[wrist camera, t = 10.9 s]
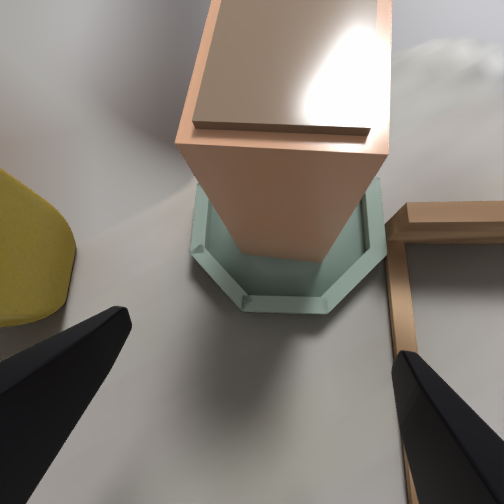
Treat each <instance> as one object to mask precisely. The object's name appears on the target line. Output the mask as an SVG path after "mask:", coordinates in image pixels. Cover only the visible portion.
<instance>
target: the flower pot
mask: <svg viewBox="0 0 504 504" xmlns="http://www.w3.org/2000/svg"><path fill="white" fill-rule="evenodd" d="M75 250H76V243H75V240H74V236H73V233H72V231H71V228H70V227H69V225H68V223H67V222H66V220H65V219H64V217H63V216H62V215H61V214H60V213H59V212H58V211H57V210H56V209H55V208H54V207H53V206H52V205H51V204H50V203H48V202H47V201H46V200H45V199H43V198H42V197H40V196H39V195H38V194H36V193H35V192H33V191H32V190H31V189H29V188H28V187H27V186H25V185H24V184H22V183H21V182H20V181H18V180H17V179H15V178H14V177H12V176H11V175H10V174H8V173H7V172H5V171H4V170H3V169H1V168H0V328H1V327H10V326H18V325H24V324H28V323H32V322H35V321H38V320H41V319H43V318H46V317H48V316H49V315H51V314H53V313H54V312H56V311H57V310H58V309H59V308H60V307H61V306H63V305H64V303H65V301H66V297H67V292H68V287H69V282H70V276H71V271H72V266H73V261H74V256H75Z"/></svg>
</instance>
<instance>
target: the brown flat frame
mask: <svg viewBox="0 0 504 504" xmlns="http://www.w3.org/2000/svg"><path fill="white" fill-rule="evenodd" d="M384 226H385V236H386V246H387V255H386V256H385V257H384V258H385V268H386V278H387V288H388V298H389V308H390V318H391V329H392V339H393V349H394V359H396V357H397V355H398V352H399V351H400V350H406V351H412V352H416V353H417V354H418V349H417V341H416V333H415V324H414V316H413V308H412V300H411V291H410V283H409V275H408V267H407V258H406V250H405V244H504V201H465V202H411V203H406V204H405V205H404V206H403V207H402V208H401V209H400V210H399V211H398V212H397V213H396V214H395V215H394V216H393V217H392V218H391V219H390V220H389V221H388V222H387V223H386V224H385V225H384ZM403 450H404V461H405V471H406V481H407V491H408V501H409V504H419V503H418V499H417V495H416V491H415V487H414V483H413V479H412V475H411V472H410V468H409V464H408V460H407V456H406V452H405V448H404V444H403Z"/></svg>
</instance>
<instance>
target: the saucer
mask: <svg viewBox="0 0 504 504" xmlns="http://www.w3.org/2000/svg"><path fill="white" fill-rule="evenodd" d="M190 254H191V255H192V256H193V257H194V258H195V259H196V261H197V262H198V263H199V264H200V265H201V266H202V267H203V268H204V269H205V271H206V272H207V273H208V274H209V275H210V276H211V277H212V278H213V280H214V281H215V282H216V283H217V284H218V285H219V286H220V287H221V289H222V290H223V291H224V292H225V293H226V294H227V295H228V296H229V298H230V299H231V300H232V301H233V302H234V303H235V304H236V305H237V307H238V308H239V309H240V310H241V311H243V312H260V313H290V314H320V315H325V314H328V313H329V312H330V311H331V310H332V309H333V308H334V307H335V306H336V305H337V304H338V303H339V302H340V301H341V300H342V299H343V298H344V297H345V296H346V295H347V294H348V293H349V292H350V291H351V290H352V289H353V288H354V287H355V286H356V285H357V284H358V283H359V282H360V281H361V280H362V279H363V278H364V277H365V276H366V275H367V274H368V273H369V272H370V271H371V270H372V269H373V268H374V267H375V266H376V265H377V264H378V263H379V262H380V261H381V260H382V259H383V258H384V257H385V256H386V255H387V246H386V236H385V226H384V216H383V206H382V197H381V187H380V178H378V177H377V176H375V177H374V179H373V180H372V182H371V184H370V185H369V187H368V189H367V190H366V192H365V193H364V195H363V197H362V198H361V200H360V202H359V203H358V205H357V206H356V208H355V210H354V211H353V213H352V215H351V216H350V218H349V220H348V221H347V223H346V224H345V226H344V228H343V229H342V231H341V233H340V234H339V236H338V237H337V239H336V241H335V242H334V244H333V246H332V247H331V249H330V250H329V252H328V254H327V255H326V257H325V259H324V260H323V262H322V263H317V262H308V261H300V260H291V259H283V258H274V257H266V256H257V255H249V254H242V253H241V251H240V250H239V248H238V246H237V245H236V243H235V241H234V240H233V238H232V236H231V235H230V233H229V232H228V230H227V228H226V227H225V225H224V223H223V222H222V220H221V218H220V217H219V215H218V213H217V212H216V210H215V209H214V207H213V205H212V204H211V202H210V200H209V199H208V197H207V195H206V194H205V192H204V190H203V189H202V187H201V186H200V184H199V183H197V189H196V198H195V208H194V218H193V228H192V238H191V247H190Z"/></svg>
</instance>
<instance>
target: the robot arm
mask: <svg viewBox="0 0 504 504" xmlns="http://www.w3.org/2000/svg"><path fill="white" fill-rule="evenodd" d="M131 328H132V322H131V319H130V316H129V312H128V309H127V308H126V307H121V306H113V307H111V308H109V309H107V310H105V311H103V312H101V313H99V314H97V315H95V316H93V317H91V318H89V319H87V320H85V321H83V322H81V323H79V324H77V325H75V326H73V327H71V328H69V329H67V330H65V331H63V332H60V333H58V334H56V335H54V336H52V337H50V338H48V339H46V340H44V341H42V342H40V343H38V344H36V345H34V346H32V347H30V348H28V349H26V350H24V351H22V352H20V353H18V354H16V355H14V356H12V357H10V358H8V359H6V360H4V361H2V362H0V504H26V503H27V501H28V500H29V498H30V496H31V495H32V493H33V492H34V490H35V489H36V487H37V485H38V484H39V482H40V481H41V479H42V478H43V476H44V474H45V473H46V471H47V470H48V468H49V467H50V465H51V463H52V462H53V460H54V459H55V457H56V456H57V454H58V452H59V451H60V449H61V448H62V446H63V444H64V443H65V441H66V440H67V438H68V437H69V435H70V433H71V432H72V430H73V429H74V427H75V426H76V424H77V422H78V421H79V419H80V418H81V416H82V415H83V413H84V411H85V410H86V408H87V407H88V405H89V404H90V402H91V400H92V399H93V397H94V396H95V394H96V393H97V391H98V389H99V388H100V386H101V385H102V383H103V382H104V380H105V378H106V377H107V375H108V373H109V372H110V370H111V368H112V366H113V365H114V363H115V361H116V359H117V357H118V355H119V353H120V351H121V349H122V347H123V345H124V343H125V341H126V339H127V337H128V335H129V333H130V331H131ZM391 373H392V381H393V388H394V395H395V402H396V408H397V415H398V422H399V428H400V432H401V436H402V441H403V444H404V448H405V452H406V456H407V460H408V464H409V468H410V472H411V475H412V479H413V483H414V487H415V491H416V495H417V499H418V503H419V504H504V441H503V440H502V439H501V438H500V437H499V436H498V435H497V434H496V433H495V432H494V431H493V430H492V429H491V428H490V427H489V426H488V425H487V424H486V423H485V422H484V421H483V420H482V419H481V418H480V417H479V415H478V414H477V413H476V412H475V411H474V410H473V409H472V408H471V407H470V406H469V405H468V404H467V403H466V402H465V401H464V400H463V399H462V398H461V397H460V396H459V395H458V394H457V393H456V392H455V391H454V390H453V389H452V388H451V387H450V386H449V385H448V384H447V383H446V382H445V381H444V380H443V379H442V378H441V377H440V376H439V375H438V374H437V373H436V372H435V371H434V370H433V369H432V368H431V367H430V366H429V365H428V364H427V363H426V362H425V361H424V360H423V359H422V358H421V357H420V356H419V355H418V354H417V353H416V352H412V351H406V350H400V351H399V352H398V355H397V357H396V359H395V362H394V364H393V366H392V372H391Z"/></svg>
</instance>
